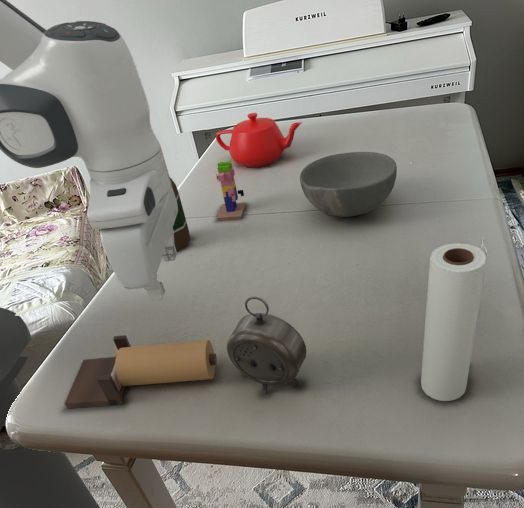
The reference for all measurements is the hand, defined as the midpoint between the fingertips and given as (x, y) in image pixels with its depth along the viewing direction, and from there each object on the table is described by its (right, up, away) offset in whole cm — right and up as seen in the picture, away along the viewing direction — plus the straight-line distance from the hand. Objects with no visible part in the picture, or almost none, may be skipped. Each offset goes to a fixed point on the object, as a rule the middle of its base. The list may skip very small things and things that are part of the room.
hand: (165, 276), depth 71 cm
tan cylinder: (-1, -14, +11) cm, 18 cm away
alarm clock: (+15, -15, +8) cm, 22 cm away
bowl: (+33, +21, +44) cm, 59 cm away
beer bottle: (-6, +13, +45) cm, 47 cm away
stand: (-13, -15, +13) cm, 24 cm away
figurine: (+6, +22, +52) cm, 57 cm away
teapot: (+13, +43, +74) cm, 86 cm away
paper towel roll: (+39, -15, +2) cm, 42 cm away
